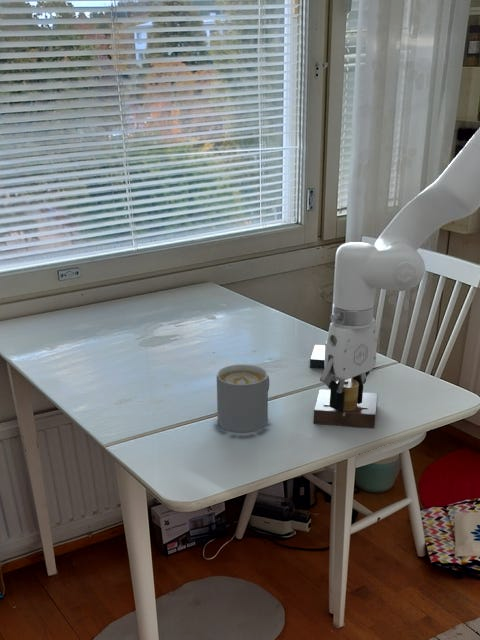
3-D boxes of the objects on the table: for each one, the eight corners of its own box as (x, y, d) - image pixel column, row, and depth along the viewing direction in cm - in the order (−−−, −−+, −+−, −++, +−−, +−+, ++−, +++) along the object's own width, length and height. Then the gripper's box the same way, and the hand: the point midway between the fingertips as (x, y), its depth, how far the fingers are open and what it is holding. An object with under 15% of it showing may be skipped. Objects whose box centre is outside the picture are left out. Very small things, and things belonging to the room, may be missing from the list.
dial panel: (376, 406, 161) (378, 392, 159) (373, 432, 152) (375, 418, 150) (318, 402, 163) (319, 388, 161) (312, 427, 154) (312, 413, 152)
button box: (365, 355, 184) (366, 339, 182) (362, 371, 176) (364, 355, 174) (314, 352, 186) (315, 336, 184) (309, 368, 178) (310, 351, 176)
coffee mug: (241, 437, 150) (241, 389, 145) (207, 420, 156) (205, 374, 151) (289, 416, 158) (291, 369, 152) (255, 401, 164) (255, 355, 158)
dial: (361, 406, 154) (363, 381, 151) (346, 413, 152) (348, 388, 149) (345, 399, 157) (346, 375, 154) (329, 406, 155) (331, 381, 152)
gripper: (334, 330, 137) (328, 424, 147) (398, 309, 146) (388, 399, 156) (305, 319, 142) (301, 411, 152) (368, 299, 151) (361, 387, 161)
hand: (345, 404), depth 154 cm, fingers closed on dial, 4 cm apart
